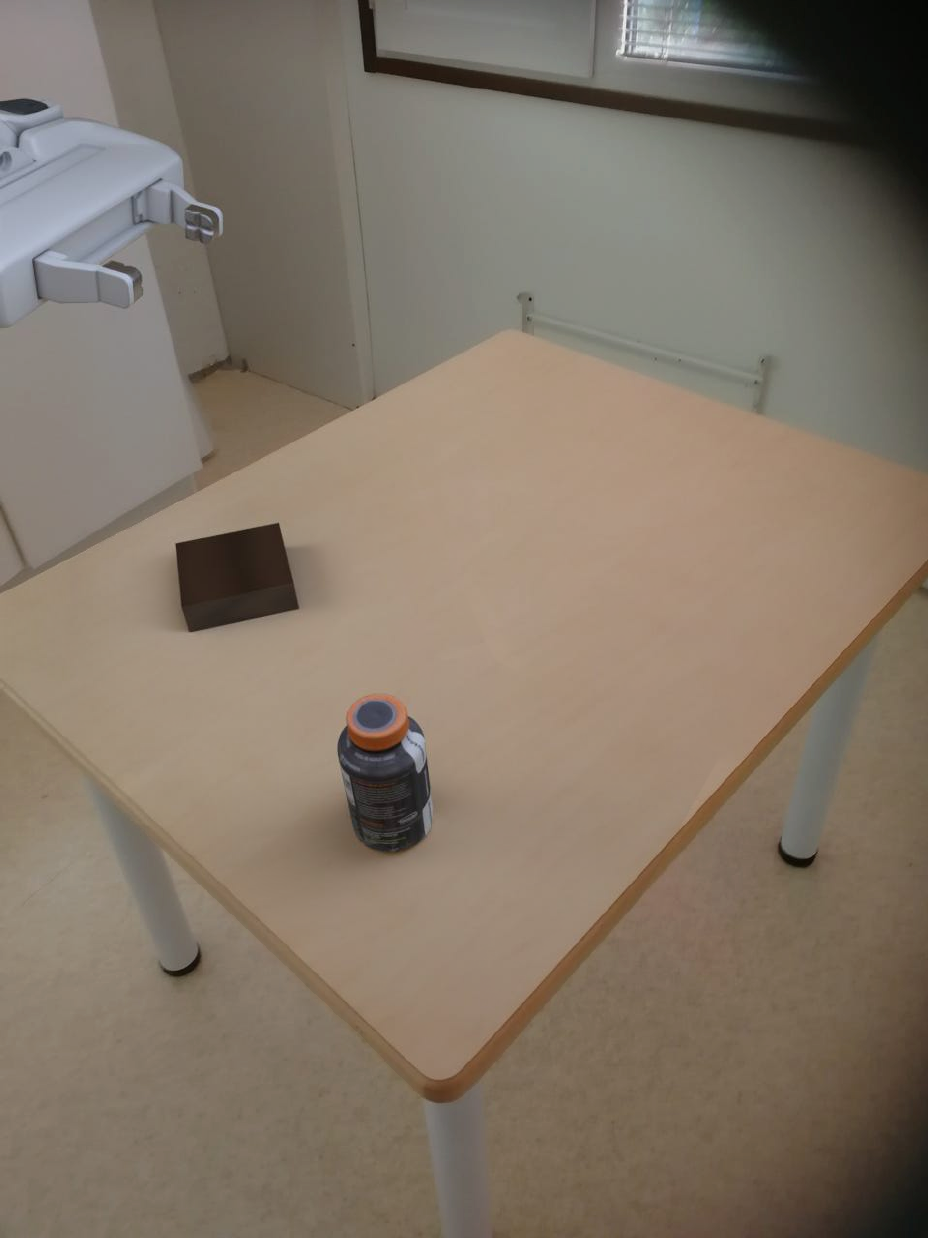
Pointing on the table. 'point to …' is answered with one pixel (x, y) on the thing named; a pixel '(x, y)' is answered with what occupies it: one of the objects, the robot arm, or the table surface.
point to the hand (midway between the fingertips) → (179, 256)
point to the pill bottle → (385, 774)
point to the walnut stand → (234, 577)
